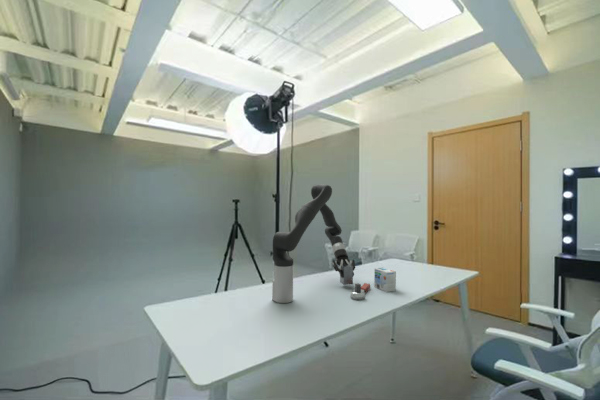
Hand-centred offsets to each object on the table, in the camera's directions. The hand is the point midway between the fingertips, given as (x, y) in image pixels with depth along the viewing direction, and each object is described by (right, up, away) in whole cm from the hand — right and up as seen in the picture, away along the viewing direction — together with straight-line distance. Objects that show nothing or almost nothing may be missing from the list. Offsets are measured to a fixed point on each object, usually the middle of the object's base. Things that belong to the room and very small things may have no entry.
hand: (347, 276), depth 161 cm
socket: (-1, -4, +2) cm, 5 cm away
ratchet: (+6, -6, -10) cm, 13 cm away
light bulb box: (+21, -7, -1) cm, 22 cm away
